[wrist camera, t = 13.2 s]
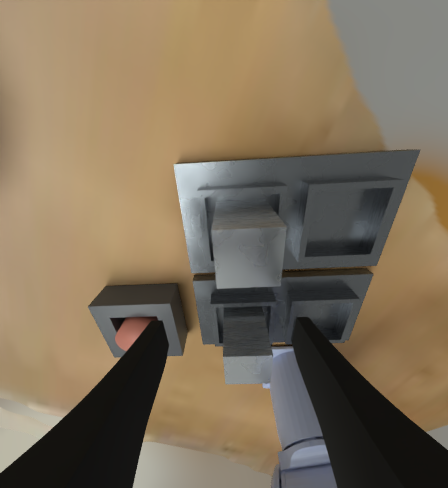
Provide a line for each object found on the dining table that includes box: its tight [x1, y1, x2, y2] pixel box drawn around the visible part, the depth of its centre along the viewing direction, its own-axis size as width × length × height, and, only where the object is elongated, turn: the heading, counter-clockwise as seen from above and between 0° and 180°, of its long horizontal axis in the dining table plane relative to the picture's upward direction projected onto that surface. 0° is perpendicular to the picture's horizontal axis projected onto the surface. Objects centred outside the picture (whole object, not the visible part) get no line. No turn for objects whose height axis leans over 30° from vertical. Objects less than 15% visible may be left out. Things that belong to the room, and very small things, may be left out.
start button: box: [115, 316, 158, 351], centre depth 20 cm, size 4×4×2 cm
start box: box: [88, 283, 188, 357], centre depth 21 cm, size 8×8×3 cm
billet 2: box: [223, 306, 273, 384], centre depth 19 cm, size 4×4×6 cm
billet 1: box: [211, 199, 287, 289], centre depth 14 cm, size 4×4×6 cm
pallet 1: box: [174, 150, 420, 273], centre depth 16 cm, size 10×18×2 cm, turn 93°
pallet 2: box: [193, 268, 373, 346], centre depth 21 cm, size 10×18×2 cm, turn 93°
